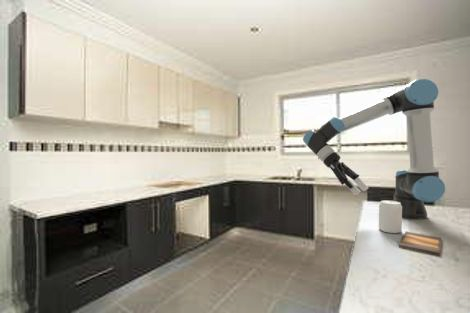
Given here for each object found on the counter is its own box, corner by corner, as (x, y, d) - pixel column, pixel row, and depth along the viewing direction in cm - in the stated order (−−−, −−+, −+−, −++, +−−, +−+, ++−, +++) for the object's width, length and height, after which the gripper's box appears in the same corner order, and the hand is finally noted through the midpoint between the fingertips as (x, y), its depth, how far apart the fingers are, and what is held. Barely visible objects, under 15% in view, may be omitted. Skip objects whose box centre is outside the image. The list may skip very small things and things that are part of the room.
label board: (405, 233, 100) (405, 231, 100) (441, 240, 93) (441, 237, 93) (399, 247, 86) (399, 244, 86) (440, 256, 79) (440, 252, 79)
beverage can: (405, 234, 99) (405, 204, 99) (382, 233, 101) (383, 203, 100) (396, 228, 107) (397, 200, 106) (375, 227, 108) (376, 199, 108)
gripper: (332, 161, 131) (363, 193, 121) (312, 163, 112) (347, 201, 102) (343, 151, 127) (375, 183, 118) (324, 151, 108) (361, 189, 99)
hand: (362, 191), depth 110 cm, fingers open, 13 cm apart
